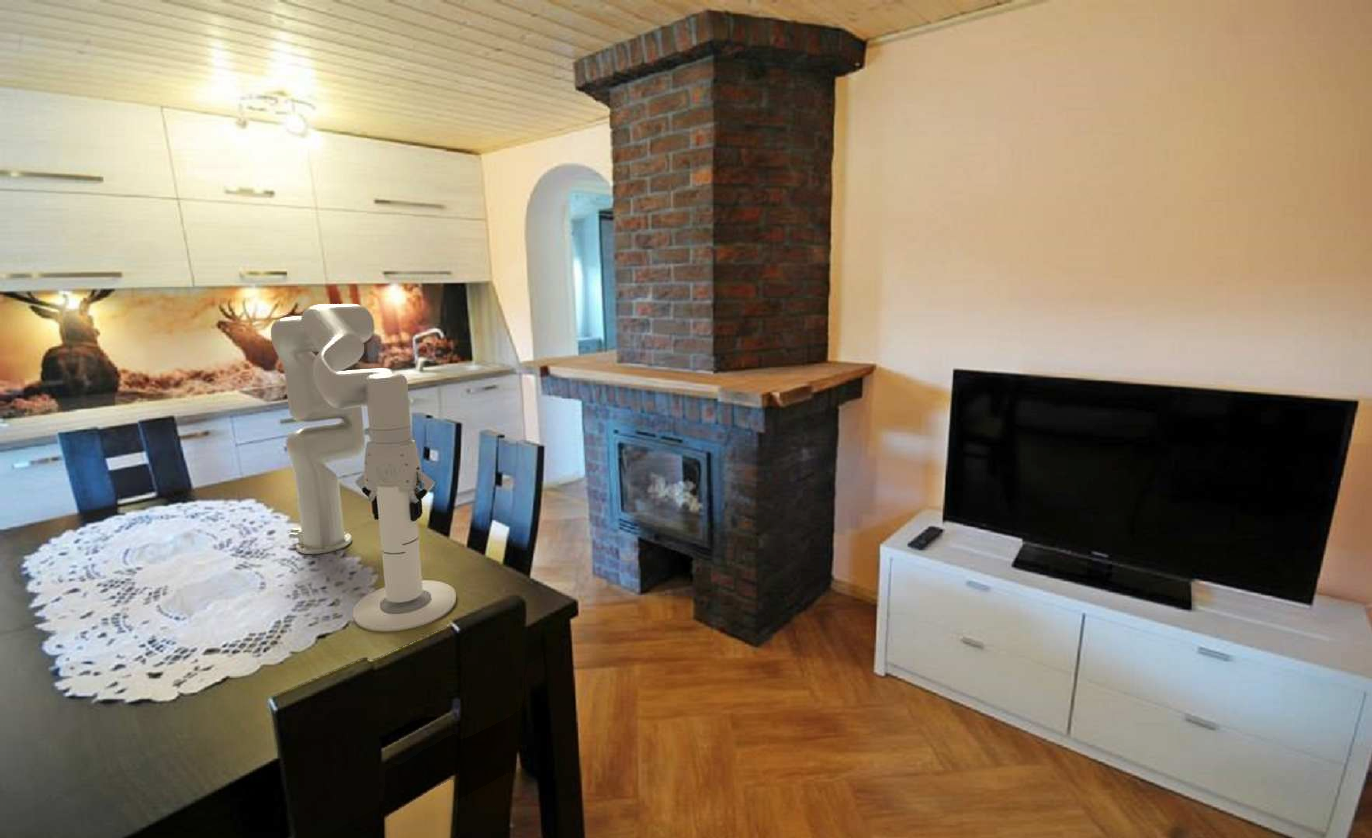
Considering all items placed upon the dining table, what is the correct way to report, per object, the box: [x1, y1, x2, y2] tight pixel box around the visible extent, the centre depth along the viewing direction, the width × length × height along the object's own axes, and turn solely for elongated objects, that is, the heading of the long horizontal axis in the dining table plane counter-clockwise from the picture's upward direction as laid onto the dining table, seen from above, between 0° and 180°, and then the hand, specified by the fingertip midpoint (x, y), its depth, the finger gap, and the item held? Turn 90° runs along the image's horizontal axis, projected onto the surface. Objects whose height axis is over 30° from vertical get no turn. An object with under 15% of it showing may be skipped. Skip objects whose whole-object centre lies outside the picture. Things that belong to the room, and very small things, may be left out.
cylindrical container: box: [376, 486, 423, 602], centre depth 129 cm, size 7×7×25 cm
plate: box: [352, 579, 457, 633], centre depth 132 cm, size 20×20×1 cm
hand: (398, 517), depth 128 cm, fingers closed on cylindrical container, 7 cm apart
